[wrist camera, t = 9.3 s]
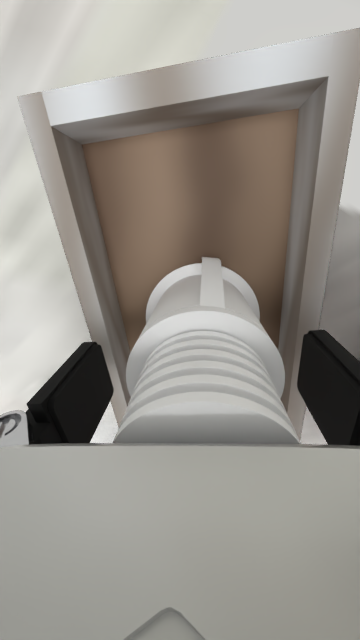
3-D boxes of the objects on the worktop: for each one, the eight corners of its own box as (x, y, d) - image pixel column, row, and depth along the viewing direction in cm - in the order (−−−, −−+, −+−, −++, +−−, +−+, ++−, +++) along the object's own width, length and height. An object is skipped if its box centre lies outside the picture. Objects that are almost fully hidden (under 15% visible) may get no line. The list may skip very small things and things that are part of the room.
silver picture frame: (316, 85, 10) (369, 26, 7) (279, 430, 19) (294, 472, 16) (67, 129, 12) (16, 96, 8) (142, 430, 21) (131, 469, 17)
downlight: (244, 375, 16) (308, 583, 7) (146, 364, 16) (75, 549, 7) (271, 259, 13) (460, 344, 4) (148, 248, 13) (26, 300, 4)
